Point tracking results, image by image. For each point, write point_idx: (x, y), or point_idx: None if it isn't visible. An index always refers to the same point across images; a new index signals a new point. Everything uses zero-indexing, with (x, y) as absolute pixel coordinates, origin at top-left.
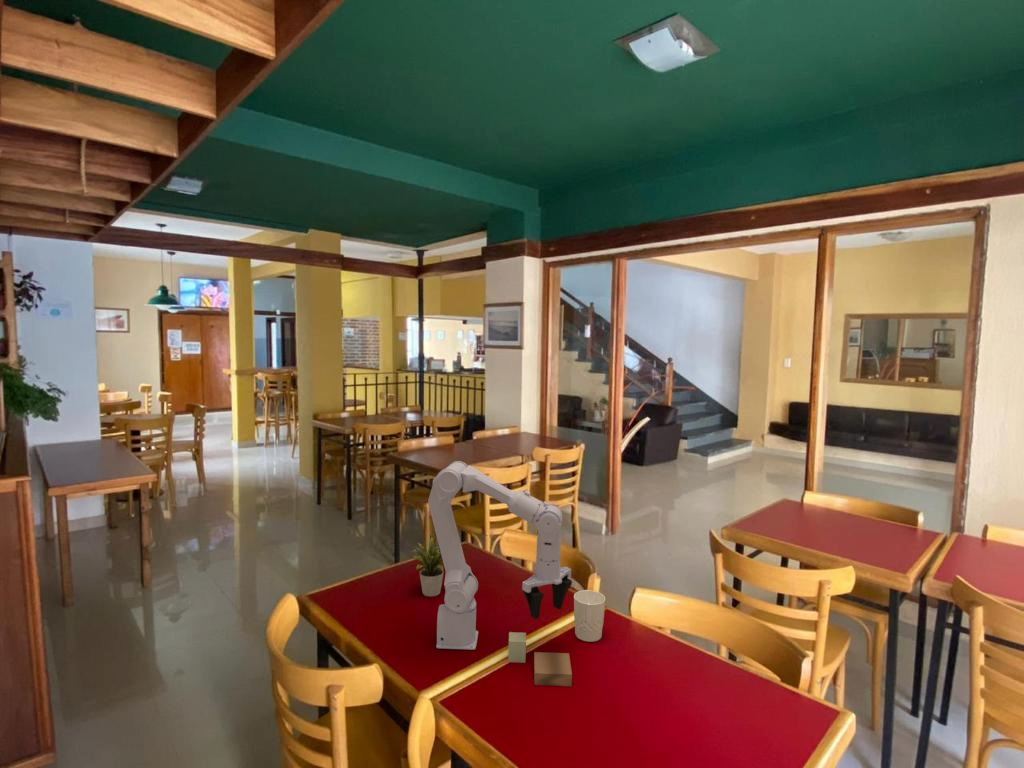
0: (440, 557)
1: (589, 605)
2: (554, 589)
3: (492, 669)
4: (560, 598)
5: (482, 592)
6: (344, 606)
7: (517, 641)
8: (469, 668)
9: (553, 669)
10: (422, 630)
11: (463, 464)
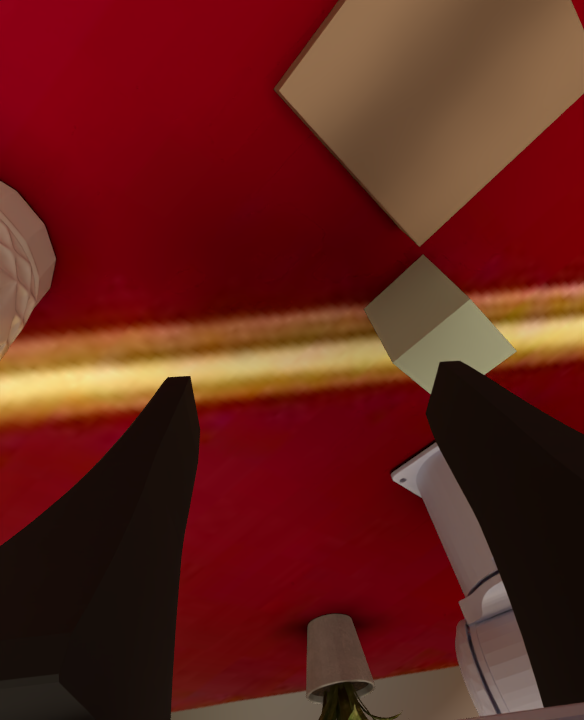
0: None
1: None
2: (172, 574)
3: (543, 297)
4: (168, 454)
5: (216, 597)
6: None
7: (491, 327)
8: (579, 347)
9: (507, 9)
10: None
11: None
